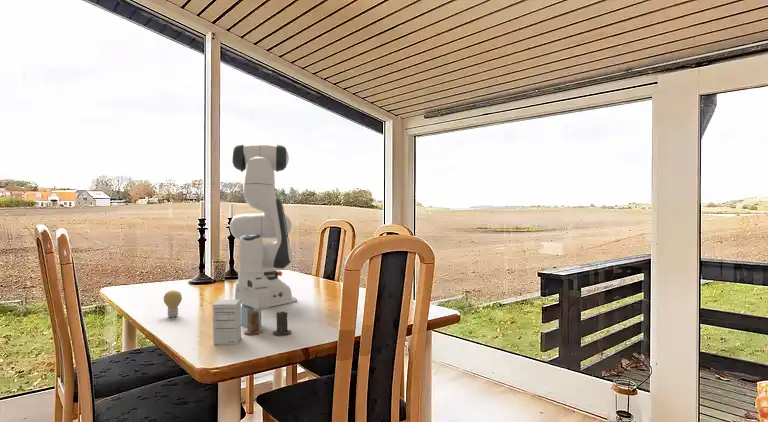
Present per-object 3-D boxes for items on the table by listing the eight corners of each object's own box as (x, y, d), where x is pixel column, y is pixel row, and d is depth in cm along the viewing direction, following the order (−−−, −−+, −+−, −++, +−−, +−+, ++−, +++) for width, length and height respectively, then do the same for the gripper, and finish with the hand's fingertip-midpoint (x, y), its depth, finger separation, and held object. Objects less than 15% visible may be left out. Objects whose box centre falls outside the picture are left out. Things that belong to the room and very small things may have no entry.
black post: (285, 330, 169) (285, 309, 169) (294, 333, 165) (294, 313, 164) (269, 333, 165) (269, 312, 165) (278, 337, 161) (278, 315, 160)
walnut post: (257, 329, 170) (257, 309, 170) (265, 333, 165) (265, 312, 165) (241, 332, 166) (240, 311, 166) (248, 336, 161) (248, 315, 161)
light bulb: (175, 318, 185) (175, 292, 185) (160, 318, 187) (159, 291, 186) (185, 314, 192) (185, 289, 191) (170, 314, 193) (170, 288, 193)
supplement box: (218, 338, 159) (218, 299, 159) (241, 337, 160) (241, 299, 160) (212, 344, 152) (212, 304, 152) (236, 344, 153) (236, 303, 152)
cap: (254, 322, 179) (254, 304, 179) (261, 325, 176) (261, 307, 175) (241, 325, 176) (241, 306, 176) (247, 327, 172) (247, 309, 172)
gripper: (230, 277, 181) (230, 314, 182) (255, 284, 166) (255, 325, 166) (246, 275, 185) (246, 311, 186) (272, 282, 170) (272, 322, 170)
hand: (251, 318), depth 176 cm, fingers open, 6 cm apart
